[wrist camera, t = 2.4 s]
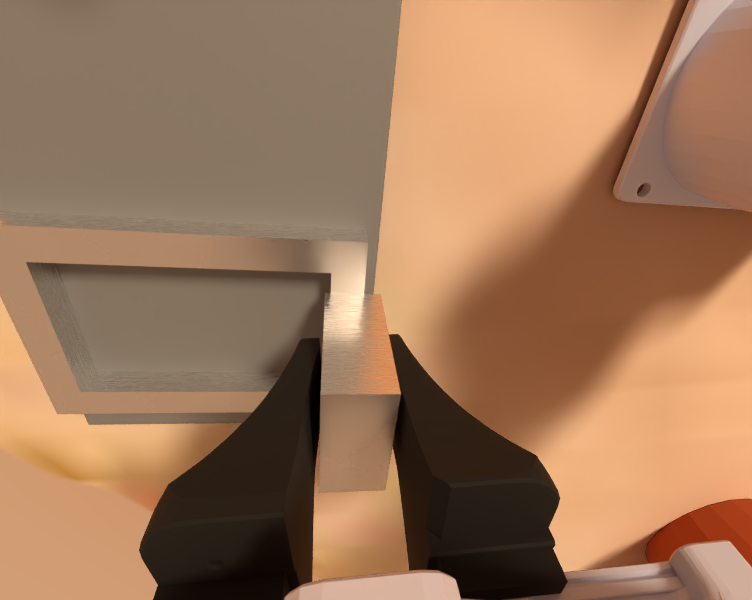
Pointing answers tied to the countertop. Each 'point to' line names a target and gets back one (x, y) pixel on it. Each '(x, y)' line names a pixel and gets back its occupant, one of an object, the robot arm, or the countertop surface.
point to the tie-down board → (198, 160)
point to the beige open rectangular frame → (209, 389)
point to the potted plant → (706, 530)
